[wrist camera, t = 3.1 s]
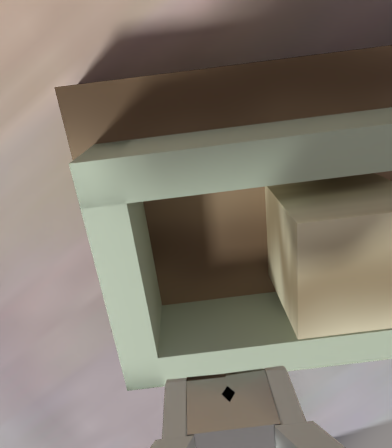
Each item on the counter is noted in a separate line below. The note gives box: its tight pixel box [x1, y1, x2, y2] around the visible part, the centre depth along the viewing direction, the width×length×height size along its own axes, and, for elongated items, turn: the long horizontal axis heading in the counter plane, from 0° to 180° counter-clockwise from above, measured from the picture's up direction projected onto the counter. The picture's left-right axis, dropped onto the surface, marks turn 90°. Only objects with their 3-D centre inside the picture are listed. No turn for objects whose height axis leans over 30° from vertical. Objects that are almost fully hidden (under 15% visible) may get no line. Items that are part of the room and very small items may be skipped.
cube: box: [265, 173, 392, 339], centre depth 14 cm, size 4×4×4 cm
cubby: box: [69, 107, 392, 391], centre depth 14 cm, size 10×12×4 cm
